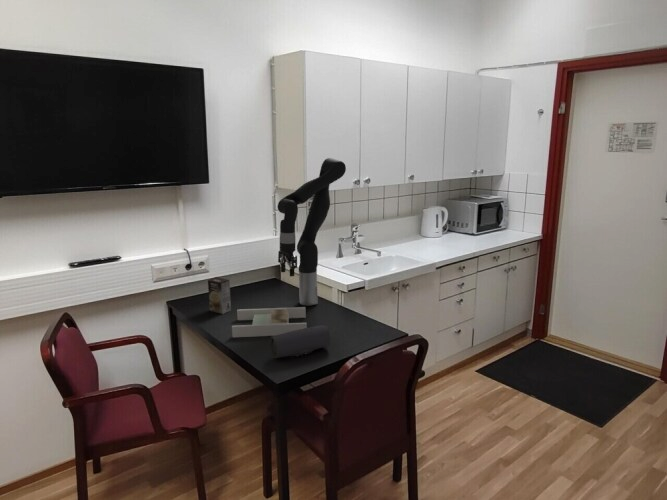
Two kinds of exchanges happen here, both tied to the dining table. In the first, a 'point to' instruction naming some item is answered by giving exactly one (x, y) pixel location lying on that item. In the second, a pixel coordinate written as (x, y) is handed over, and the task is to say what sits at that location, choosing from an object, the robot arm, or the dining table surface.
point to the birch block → (279, 316)
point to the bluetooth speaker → (299, 341)
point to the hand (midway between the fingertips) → (287, 274)
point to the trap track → (267, 322)
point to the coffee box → (219, 295)
